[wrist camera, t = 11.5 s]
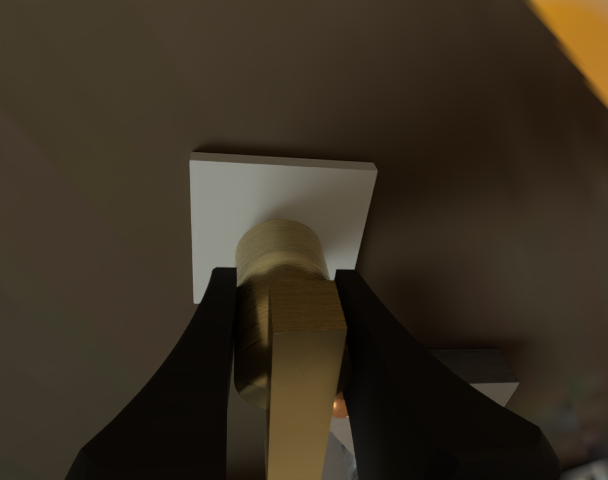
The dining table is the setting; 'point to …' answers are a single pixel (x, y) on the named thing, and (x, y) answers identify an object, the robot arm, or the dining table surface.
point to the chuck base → (467, 365)
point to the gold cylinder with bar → (289, 344)
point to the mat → (275, 205)
